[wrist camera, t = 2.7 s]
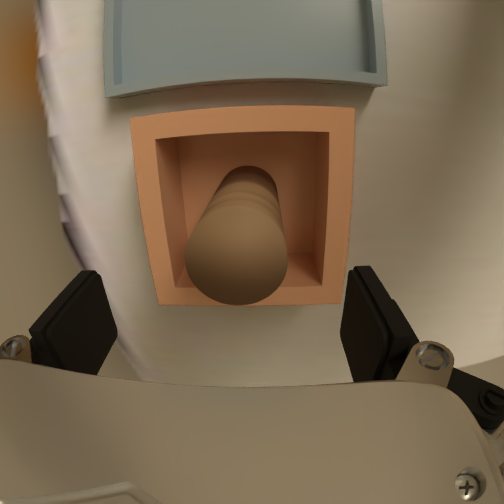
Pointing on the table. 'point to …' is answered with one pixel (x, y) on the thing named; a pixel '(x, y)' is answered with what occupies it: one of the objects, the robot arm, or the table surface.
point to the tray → (241, 43)
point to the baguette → (239, 240)
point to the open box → (259, 155)
